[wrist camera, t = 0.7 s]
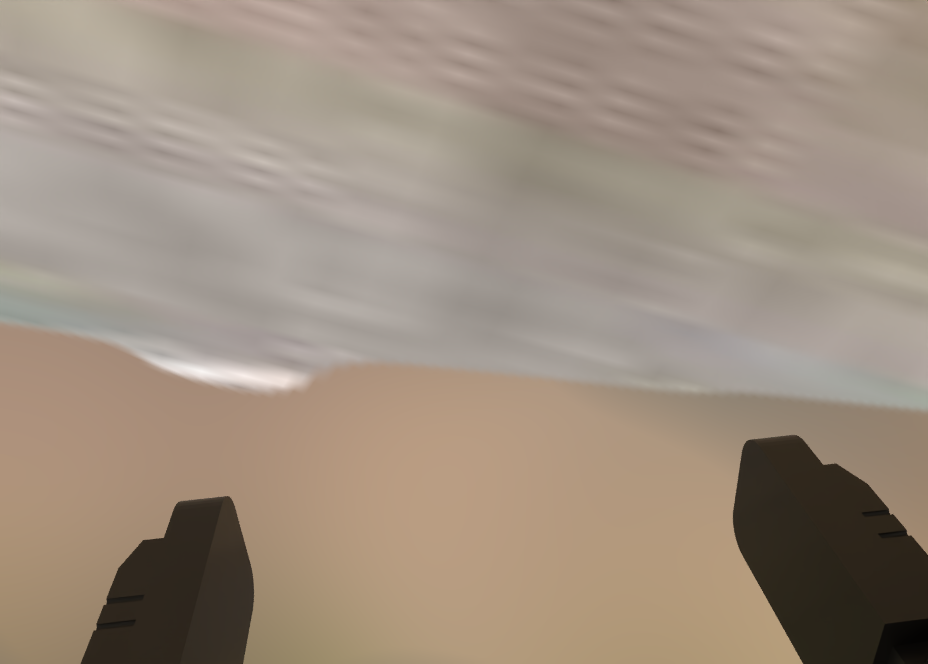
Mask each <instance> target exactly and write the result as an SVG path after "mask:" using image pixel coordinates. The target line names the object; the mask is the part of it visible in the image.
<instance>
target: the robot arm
mask: <svg viewBox="0 0 928 664" xmlns="http://www.w3.org/2000/svg"><path fill="white" fill-rule="evenodd" d="M733 525H734V532H735V537H736V540H737V543H738V547H739V549H740V551H741V553H742V555H743V557H744V559H745V561H746V562H747V564H748V566H749V568H750V570H751V571H752V573H753V575H754V577H755V579H756V580H757V582H758V584H759V586H760V587H761V589H762V591H763V593H764V595H765V596H766V598H767V600H768V602H769V603H770V605H771V607H772V609H773V611H774V612H775V614H776V616H777V617H778V619H779V621H780V623H781V625H782V627H783V629H784V630H785V632H786V634H787V636H788V637H789V639H790V641H791V643H792V645H793V646H794V648H795V650H796V652H797V653H798V655H799V657H800V659H801V660H802V662H803V664H928V555H927V554H926V552H925V551H924V550H923V549H922V548H921V546H920V545H919V544H918V543H917V542H916V541H915V539H914V538H913V537H912V536H908V535H907V530H906V529H905V528H904V526H903V525H902V524H901V523H900V522H899V521H898V519H897V518H896V517H895V516H894V515H893V514H892V515H890V513H889V509H888V507H887V506H886V505H885V504H884V503H883V502H882V500H881V499H880V498H879V497H878V496H877V494H875V492H874V491H873V490H872V489H871V487H870V486H869V485H868V484H867V483H865V482H864V481H862V480H861V479H859V478H858V477H856V476H854V475H853V474H851V473H850V472H848V471H846V470H845V469H844V468H842V467H841V466H839V465H838V464H828V465H823V464H822V463H821V462H820V460H819V459H818V458H817V457H816V455H815V454H814V453H813V452H812V450H811V449H810V448H809V447H808V445H807V444H806V443H805V442H804V441H803V439H802V438H800V437H799V436H797V435H789V436H780V437H771V438H763V439H753V440H748V441H747V442H746V443H745V444H744V447H743V450H742V456H741V463H740V470H739V476H738V483H737V490H736V497H735V504H734V510H733ZM253 602H254V584H253V574H252V568H251V564H250V561H249V557H248V553H247V550H246V546H245V542H244V539H243V535H242V532H241V528H240V524H239V521H238V517H237V513H236V510H235V506H234V503H233V501H232V499H231V498H230V497H228V496H225V497H216V498H207V499H197V500H189V501H180V502H178V503H177V504H176V506H175V508H174V511H173V513H172V516H171V519H170V522H169V525H168V528H167V530H166V533H165V537H164V538H159V539H151V540H143V541H142V542H141V543H140V544H139V546H138V547H137V548H136V549H135V550H134V551H133V552H132V554H131V555H130V556H129V557H128V558H127V559H126V560H125V562H124V563H123V564H122V565H121V566H120V567H119V568H118V571H117V573H116V576H115V578H114V581H113V584H112V586H111V588H110V591H109V594H108V596H107V604H106V605H104V606H103V609H102V611H101V614H100V617H99V619H98V621H97V629H96V631H94V632H93V634H92V637H91V639H90V642H89V644H88V647H87V649H86V652H85V654H84V657H83V659H82V662H81V664H243V660H244V655H245V649H246V644H247V638H248V633H249V627H250V621H251V616H252V611H253Z"/></svg>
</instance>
